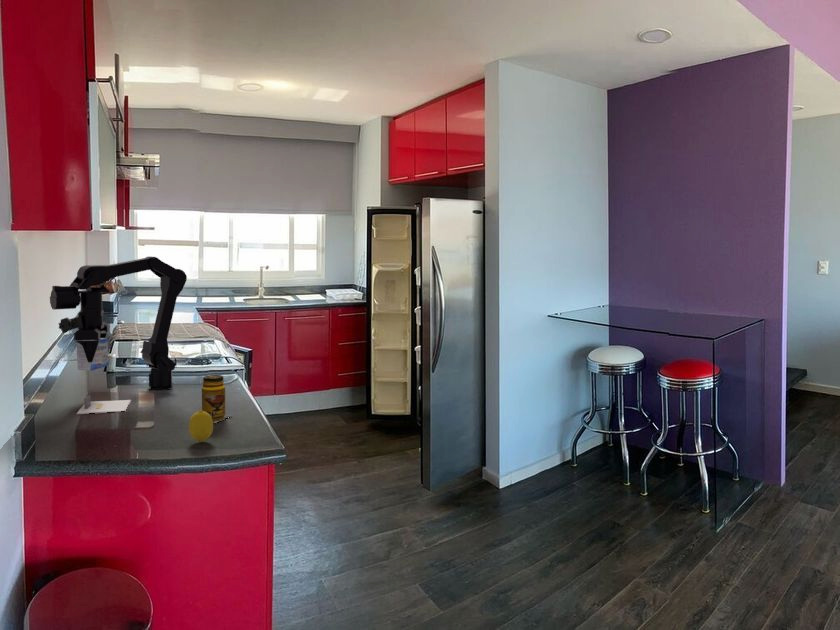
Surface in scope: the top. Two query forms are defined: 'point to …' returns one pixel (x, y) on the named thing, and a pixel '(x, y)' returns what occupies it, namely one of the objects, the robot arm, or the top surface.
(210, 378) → the condiment
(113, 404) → the board
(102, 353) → the medicine box
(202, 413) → the lemon
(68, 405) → the top surface
